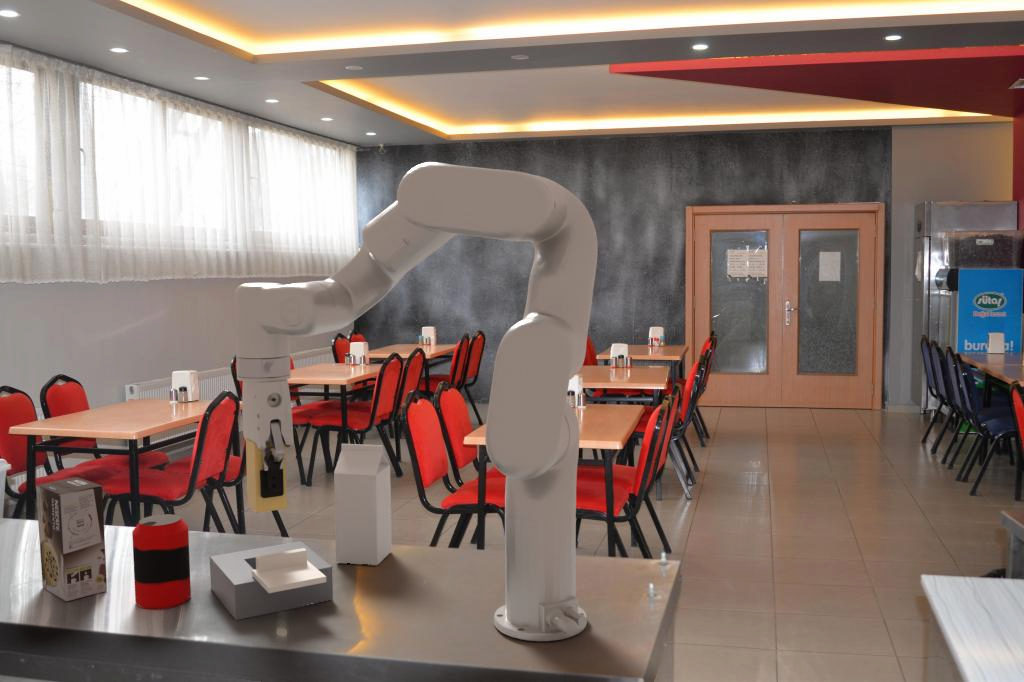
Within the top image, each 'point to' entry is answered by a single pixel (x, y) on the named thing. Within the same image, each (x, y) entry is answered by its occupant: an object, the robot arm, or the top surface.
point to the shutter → (286, 571)
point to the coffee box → (72, 538)
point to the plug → (253, 481)
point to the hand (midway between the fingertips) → (266, 491)
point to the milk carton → (362, 505)
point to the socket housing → (247, 593)
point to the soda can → (161, 562)
